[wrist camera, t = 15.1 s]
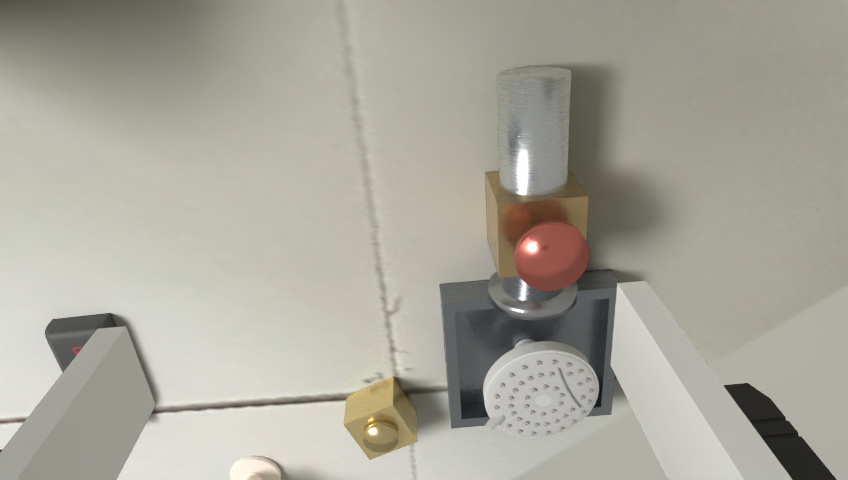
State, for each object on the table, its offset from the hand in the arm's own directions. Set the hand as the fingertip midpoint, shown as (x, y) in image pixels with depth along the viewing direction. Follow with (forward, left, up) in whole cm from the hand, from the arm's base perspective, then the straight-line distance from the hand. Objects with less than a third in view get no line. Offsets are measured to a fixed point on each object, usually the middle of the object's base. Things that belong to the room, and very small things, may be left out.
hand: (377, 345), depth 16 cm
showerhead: (+10, -24, -30) cm, 40 cm away
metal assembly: (+10, -15, -31) cm, 36 cm away
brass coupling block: (-4, -30, -31) cm, 43 cm away
